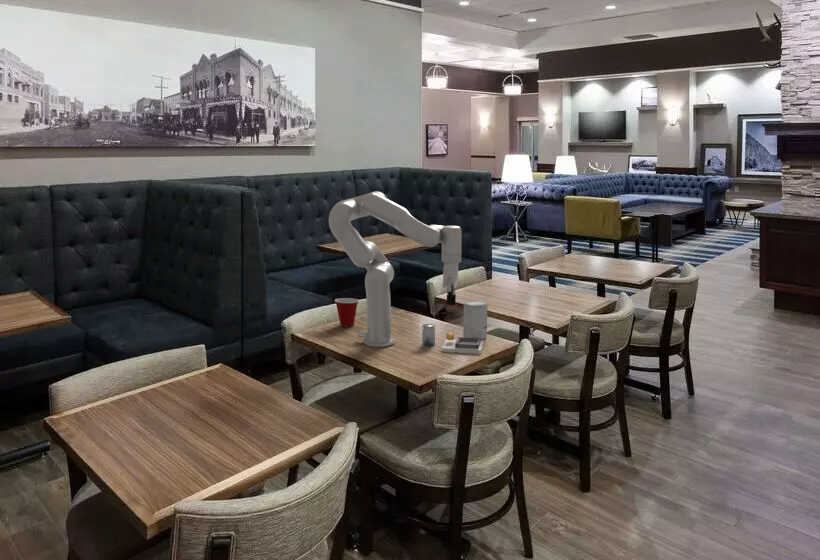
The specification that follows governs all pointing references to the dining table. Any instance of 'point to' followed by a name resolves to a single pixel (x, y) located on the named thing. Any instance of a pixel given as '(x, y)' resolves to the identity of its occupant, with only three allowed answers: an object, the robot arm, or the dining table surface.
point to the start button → (450, 336)
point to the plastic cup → (346, 310)
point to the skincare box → (475, 320)
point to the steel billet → (428, 335)
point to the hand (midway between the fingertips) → (451, 304)
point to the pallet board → (463, 345)
